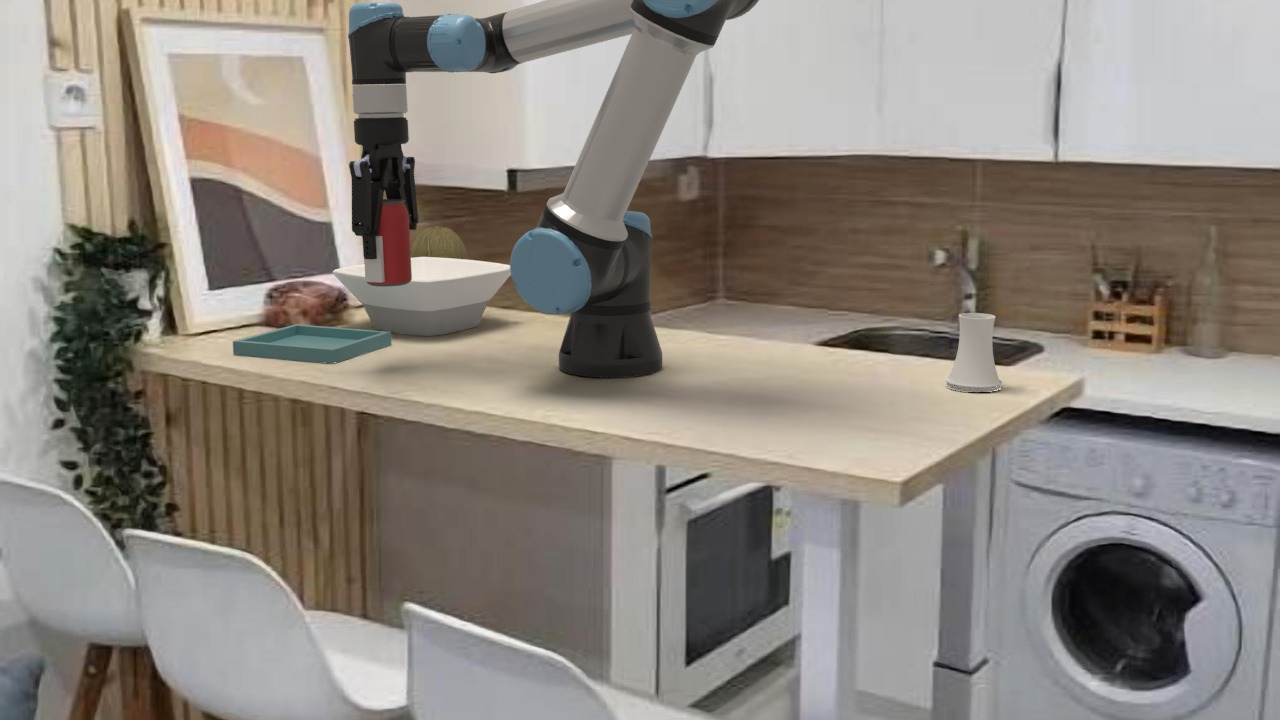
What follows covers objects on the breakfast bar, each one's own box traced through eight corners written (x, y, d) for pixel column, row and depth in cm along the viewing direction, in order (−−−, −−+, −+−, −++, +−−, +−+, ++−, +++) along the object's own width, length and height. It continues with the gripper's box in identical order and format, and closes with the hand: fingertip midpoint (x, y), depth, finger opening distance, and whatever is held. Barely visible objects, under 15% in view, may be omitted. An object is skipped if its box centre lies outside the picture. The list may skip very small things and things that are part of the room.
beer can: (402, 287, 195) (398, 202, 193) (358, 286, 196) (353, 202, 194) (418, 281, 201) (414, 198, 199) (376, 280, 203) (371, 198, 200)
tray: (391, 344, 218) (390, 331, 218) (333, 363, 204) (332, 349, 204) (296, 336, 225) (295, 324, 225) (233, 354, 210) (232, 341, 210)
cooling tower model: (987, 380, 194) (991, 310, 192) (1010, 392, 186) (1015, 319, 184) (936, 382, 192) (940, 311, 190) (958, 394, 185) (961, 321, 183)
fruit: (483, 305, 256) (481, 225, 253) (438, 313, 248) (436, 230, 245) (440, 299, 263) (438, 221, 260) (396, 306, 255) (393, 225, 252)
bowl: (321, 331, 231) (318, 270, 229) (425, 310, 251) (424, 254, 249) (427, 346, 217) (425, 282, 215) (529, 324, 237) (528, 265, 235)
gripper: (394, 114, 205) (402, 269, 209) (317, 118, 187) (327, 286, 191) (438, 114, 202) (445, 270, 206) (365, 117, 184) (374, 288, 189)
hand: (388, 278), depth 199 cm, fingers closed on beer can, 6 cm apart
